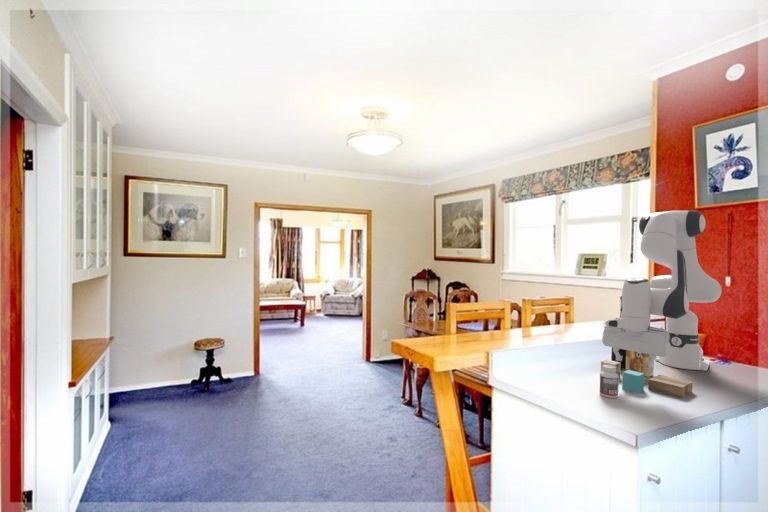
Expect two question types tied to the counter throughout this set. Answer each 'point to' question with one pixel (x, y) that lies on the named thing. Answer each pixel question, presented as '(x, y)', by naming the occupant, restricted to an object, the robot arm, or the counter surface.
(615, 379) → the pill bottle
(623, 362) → the wine bottle
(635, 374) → the teal block
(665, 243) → the robot arm
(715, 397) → the counter surface
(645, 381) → the card
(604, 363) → the birch block
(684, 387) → the walnut plinth
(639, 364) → the candy box
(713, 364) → the counter surface
